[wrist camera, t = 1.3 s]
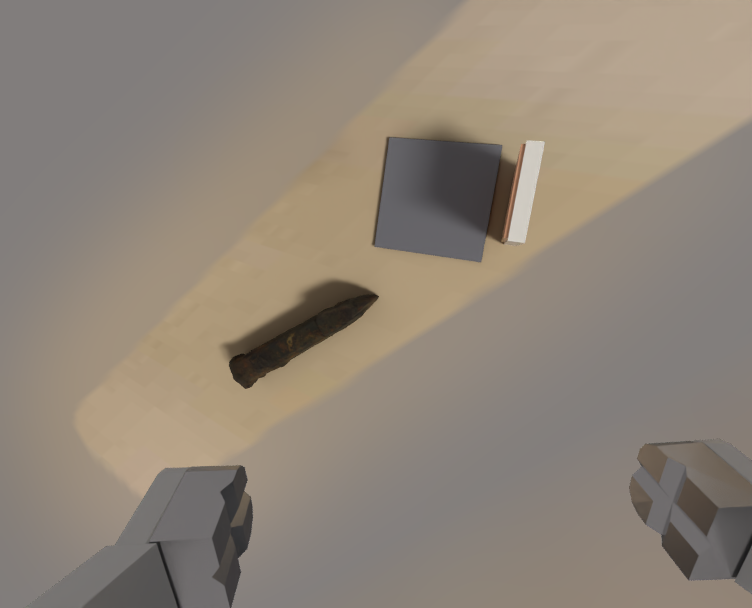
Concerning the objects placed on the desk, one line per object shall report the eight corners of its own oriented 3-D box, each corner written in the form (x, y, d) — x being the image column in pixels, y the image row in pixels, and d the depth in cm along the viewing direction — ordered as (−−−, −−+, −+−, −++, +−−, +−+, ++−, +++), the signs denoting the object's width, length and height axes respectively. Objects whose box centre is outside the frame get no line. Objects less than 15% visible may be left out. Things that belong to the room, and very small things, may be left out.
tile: (514, 169, 37) (522, 140, 28) (531, 171, 37) (545, 141, 27) (500, 244, 38) (503, 240, 29) (516, 246, 38) (524, 243, 28)
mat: (390, 138, 40) (389, 137, 40) (502, 146, 37) (502, 145, 37) (375, 246, 42) (374, 246, 41) (481, 262, 39) (481, 262, 38)
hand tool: (257, 382, 48) (234, 395, 44) (243, 353, 48) (218, 363, 44) (391, 318, 43) (379, 325, 38) (374, 285, 43) (361, 288, 38)
